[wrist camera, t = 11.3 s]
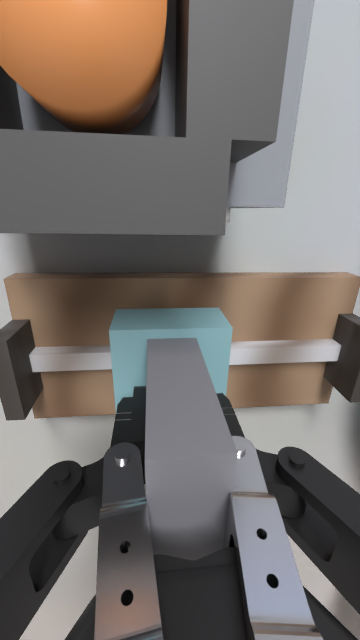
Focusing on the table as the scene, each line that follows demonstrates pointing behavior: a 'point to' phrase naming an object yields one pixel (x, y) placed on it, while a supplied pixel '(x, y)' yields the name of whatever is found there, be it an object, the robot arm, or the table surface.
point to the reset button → (86, 58)
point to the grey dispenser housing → (169, 133)
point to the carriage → (180, 420)
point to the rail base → (178, 292)
